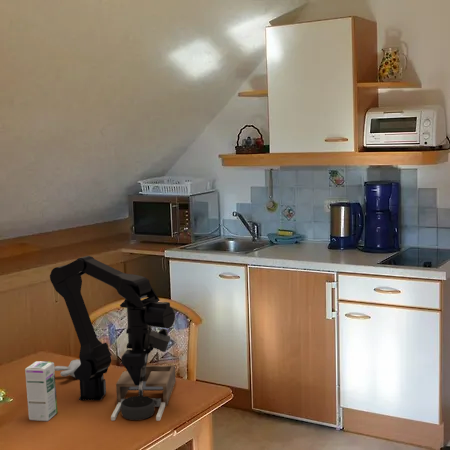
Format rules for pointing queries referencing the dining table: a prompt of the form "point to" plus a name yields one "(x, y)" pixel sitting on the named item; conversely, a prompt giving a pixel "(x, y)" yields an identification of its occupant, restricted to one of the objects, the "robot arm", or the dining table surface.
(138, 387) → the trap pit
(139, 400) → the smart speaker
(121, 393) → the tunnel
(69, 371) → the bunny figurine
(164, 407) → the rails
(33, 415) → the syrup box
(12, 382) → the dining table surface
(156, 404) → the slider
